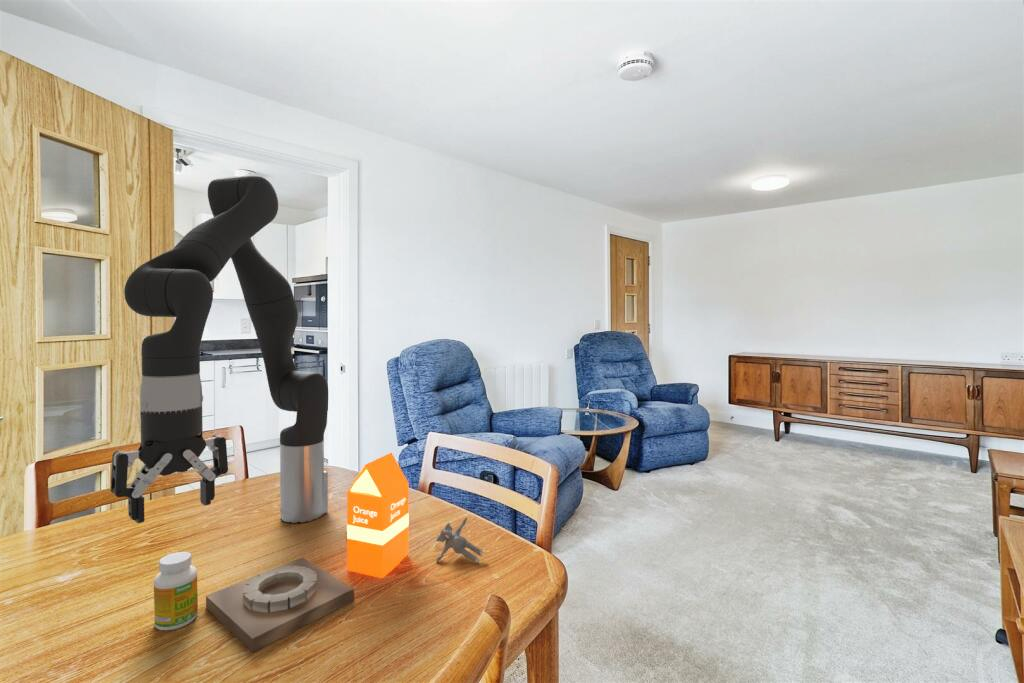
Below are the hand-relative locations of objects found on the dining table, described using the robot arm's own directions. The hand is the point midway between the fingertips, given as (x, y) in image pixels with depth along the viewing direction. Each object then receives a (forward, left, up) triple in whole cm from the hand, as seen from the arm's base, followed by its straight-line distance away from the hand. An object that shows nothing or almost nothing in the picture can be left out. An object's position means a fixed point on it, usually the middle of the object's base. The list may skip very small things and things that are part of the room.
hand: (173, 512), depth 73 cm
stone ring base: (-12, +8, -17) cm, 22 cm away
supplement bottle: (0, 0, -17) cm, 17 cm away
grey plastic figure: (-42, +19, -17) cm, 49 cm away
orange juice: (-30, +9, -17) cm, 36 cm away
